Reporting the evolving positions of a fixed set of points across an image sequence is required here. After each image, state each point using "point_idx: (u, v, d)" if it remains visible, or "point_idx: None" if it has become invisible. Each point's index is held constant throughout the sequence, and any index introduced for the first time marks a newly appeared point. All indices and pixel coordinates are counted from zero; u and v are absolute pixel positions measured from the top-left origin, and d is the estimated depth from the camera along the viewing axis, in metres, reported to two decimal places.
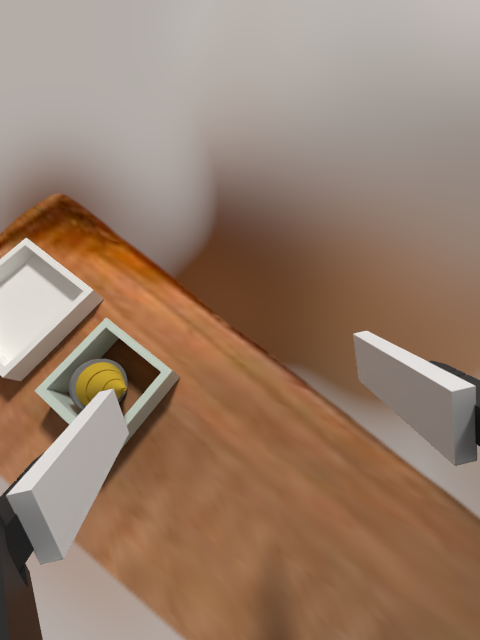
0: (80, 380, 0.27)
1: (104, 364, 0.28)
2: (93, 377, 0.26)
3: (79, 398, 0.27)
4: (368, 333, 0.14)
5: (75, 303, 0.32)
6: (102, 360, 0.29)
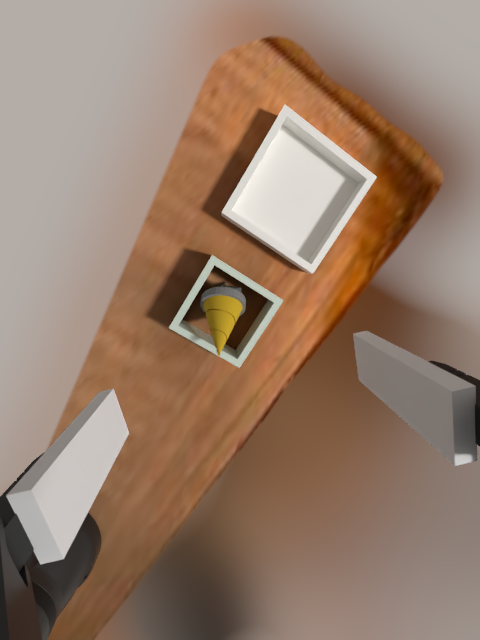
0: (223, 299, 0.31)
1: (240, 310, 0.32)
2: (227, 314, 0.31)
3: (209, 298, 0.31)
4: (368, 333, 0.14)
5: (298, 259, 0.33)
6: (243, 305, 0.33)
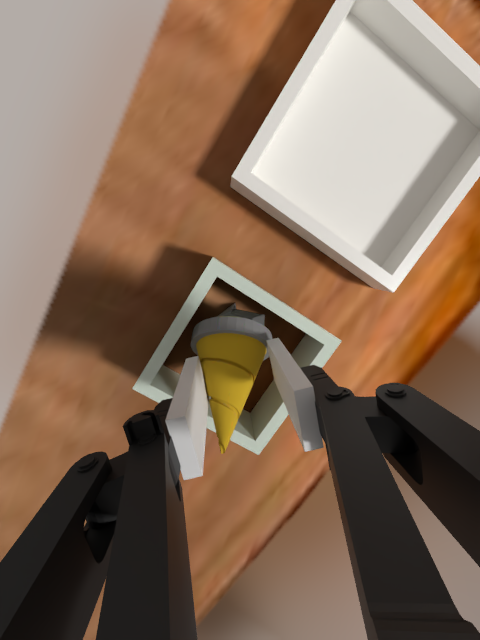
0: (234, 341, 0.16)
1: (262, 357, 0.18)
2: (239, 369, 0.16)
3: (207, 338, 0.17)
4: (277, 340, 0.16)
5: (369, 267, 0.18)
6: None
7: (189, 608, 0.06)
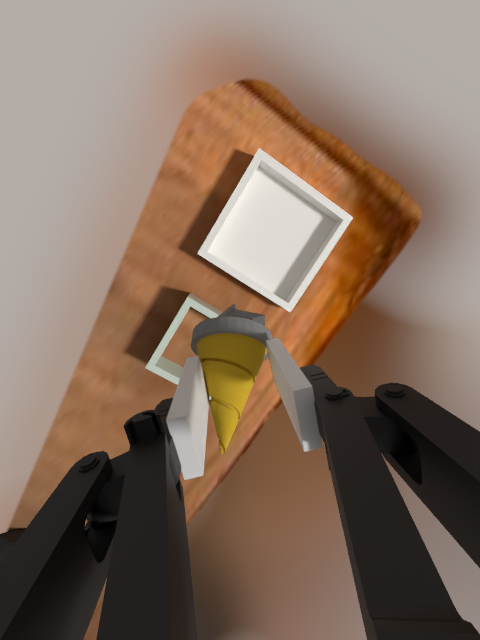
0: (234, 342, 0.16)
1: (263, 358, 0.18)
2: (240, 369, 0.16)
3: (207, 338, 0.17)
4: (277, 340, 0.16)
5: (275, 299, 0.33)
6: None
7: (190, 608, 0.06)
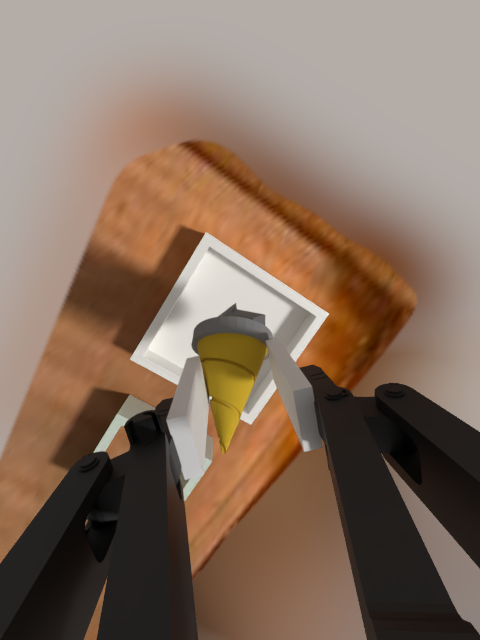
0: (234, 341, 0.16)
1: (263, 357, 0.18)
2: (240, 369, 0.16)
3: (208, 338, 0.17)
4: (276, 340, 0.16)
5: None
6: None
7: (190, 608, 0.06)
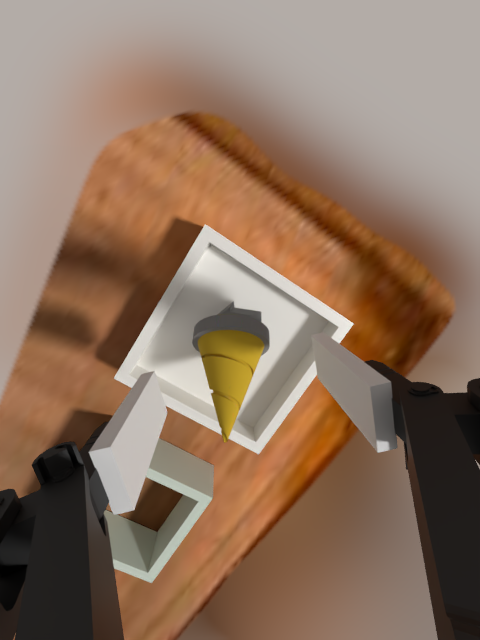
0: (232, 337, 0.17)
1: (260, 352, 0.19)
2: (239, 363, 0.17)
3: (207, 335, 0.18)
4: (324, 334, 0.16)
5: (235, 437, 0.22)
6: (266, 343, 0.19)
7: None
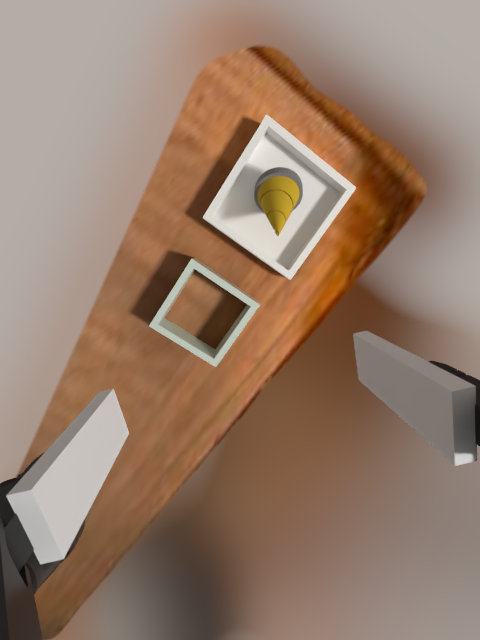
0: (282, 180, 0.29)
1: (297, 196, 0.30)
2: (286, 194, 0.29)
3: (266, 181, 0.29)
4: (368, 333, 0.14)
5: (276, 266, 0.34)
6: (301, 192, 0.31)
7: None
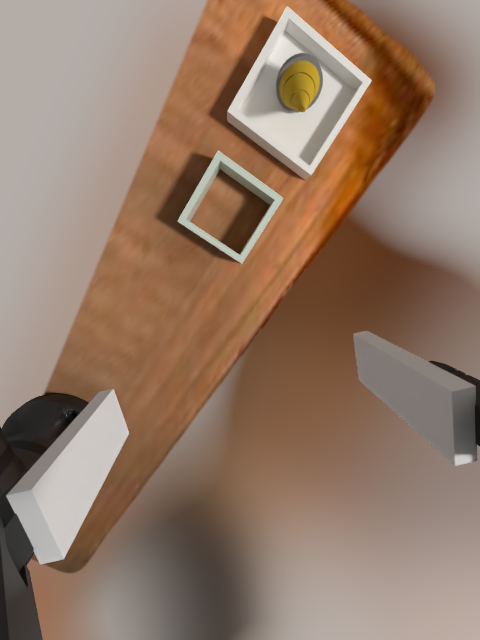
0: (304, 64, 0.31)
1: (318, 84, 0.32)
2: (308, 77, 0.30)
3: (289, 67, 0.31)
4: (368, 333, 0.14)
5: (297, 160, 0.35)
6: (321, 81, 0.32)
7: None
